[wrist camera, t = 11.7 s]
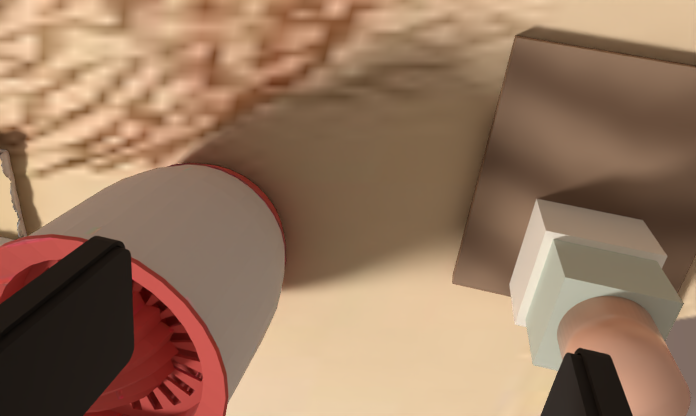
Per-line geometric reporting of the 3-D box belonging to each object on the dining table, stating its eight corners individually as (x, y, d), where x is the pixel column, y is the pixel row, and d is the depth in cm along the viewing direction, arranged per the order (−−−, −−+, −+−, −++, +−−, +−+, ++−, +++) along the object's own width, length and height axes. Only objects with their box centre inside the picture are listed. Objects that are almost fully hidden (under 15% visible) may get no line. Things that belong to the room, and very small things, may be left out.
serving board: (515, 35, 35) (516, 37, 34) (767, 78, 33) (778, 81, 32) (452, 275, 42) (452, 283, 41) (654, 320, 41) (659, 330, 39)
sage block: (553, 238, 33) (565, 277, 29) (656, 260, 32) (683, 303, 28) (525, 319, 36) (532, 364, 32) (620, 341, 35) (640, 390, 31)
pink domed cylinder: (573, 286, 29) (592, 345, 25) (671, 308, 28) (709, 372, 24) (545, 359, 31) (558, 425, 27) (636, 381, 31) (665, 452, 26)
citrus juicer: (82, 163, 45) (-174, 295, 27) (275, 118, 40) (119, 243, 22) (155, 322, 50) (-18, 520, 32) (333, 299, 45) (245, 517, 28)
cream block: (536, 198, 37) (545, 230, 33) (642, 220, 37) (667, 255, 32) (509, 284, 40) (514, 324, 36) (607, 306, 40) (625, 350, 35)
